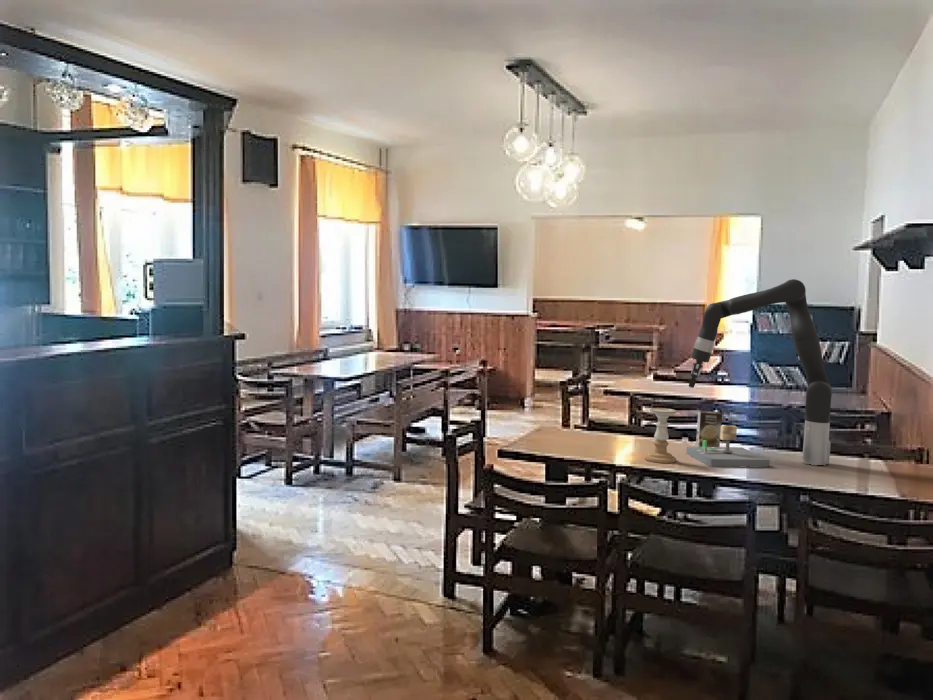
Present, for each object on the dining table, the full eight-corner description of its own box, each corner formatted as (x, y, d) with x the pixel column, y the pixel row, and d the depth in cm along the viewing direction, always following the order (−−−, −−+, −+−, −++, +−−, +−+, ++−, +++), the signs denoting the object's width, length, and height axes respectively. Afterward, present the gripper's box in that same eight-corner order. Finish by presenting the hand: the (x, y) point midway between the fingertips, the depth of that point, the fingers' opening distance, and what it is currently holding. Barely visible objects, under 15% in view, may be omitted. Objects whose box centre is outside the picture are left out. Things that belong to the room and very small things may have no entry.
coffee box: (697, 449, 367) (700, 412, 366) (695, 447, 374) (697, 410, 372) (719, 451, 366) (722, 413, 365) (717, 448, 373) (719, 411, 371)
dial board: (741, 454, 360) (742, 440, 360) (769, 467, 337) (770, 452, 336) (686, 454, 357) (687, 439, 356) (711, 466, 333) (711, 451, 333)
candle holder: (652, 463, 335) (655, 412, 334) (639, 457, 347) (641, 407, 346) (681, 463, 338) (684, 412, 337) (667, 456, 350) (670, 407, 349)
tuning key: (731, 451, 349) (733, 425, 348) (736, 453, 345) (738, 426, 344) (702, 451, 346) (703, 425, 345) (707, 453, 342) (708, 427, 342)
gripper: (711, 353, 353) (699, 390, 355) (712, 350, 366) (701, 386, 369) (693, 347, 355) (681, 385, 357) (695, 345, 368) (683, 381, 371)
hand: (691, 386), depth 363 cm, fingers open, 8 cm apart
